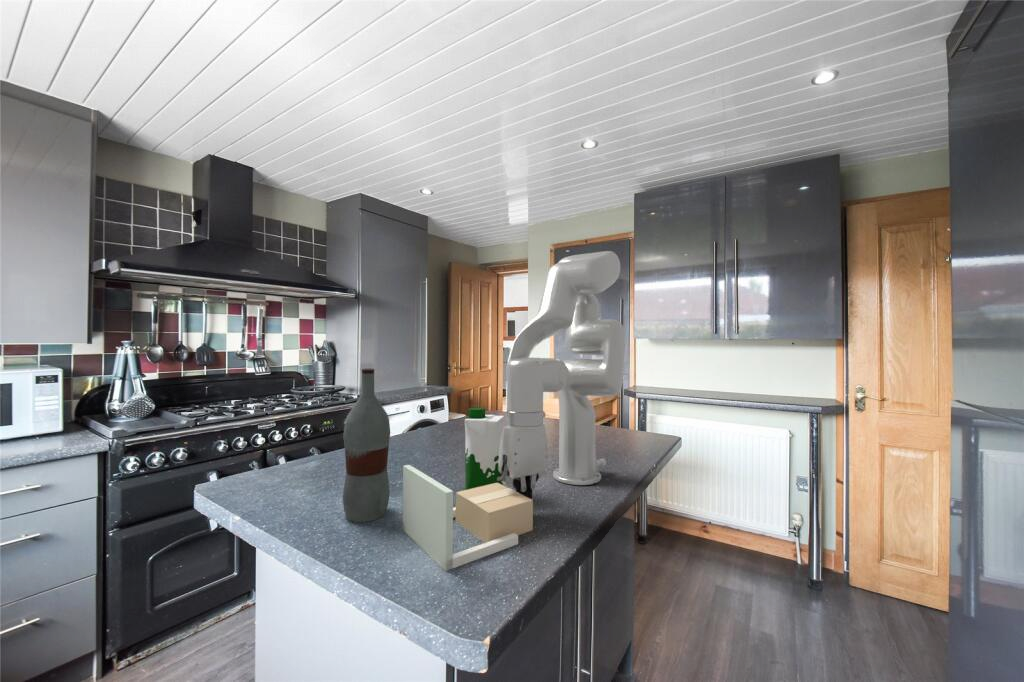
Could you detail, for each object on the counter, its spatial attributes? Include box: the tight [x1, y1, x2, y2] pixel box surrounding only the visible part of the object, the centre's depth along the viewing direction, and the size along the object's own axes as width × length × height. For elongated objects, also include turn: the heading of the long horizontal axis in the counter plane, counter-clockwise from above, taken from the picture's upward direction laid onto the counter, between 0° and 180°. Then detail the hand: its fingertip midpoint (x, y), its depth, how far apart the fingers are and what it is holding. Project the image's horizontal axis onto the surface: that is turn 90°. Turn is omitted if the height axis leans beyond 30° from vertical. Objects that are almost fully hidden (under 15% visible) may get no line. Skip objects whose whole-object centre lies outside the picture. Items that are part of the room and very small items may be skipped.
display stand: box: [402, 464, 519, 572], centre depth 72 cm, size 14×17×12 cm
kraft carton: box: [455, 483, 534, 544], centre depth 77 cm, size 10×12×6 cm
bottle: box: [342, 367, 391, 523], centre depth 82 cm, size 9×9×30 cm
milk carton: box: [464, 406, 505, 490], centre depth 93 cm, size 9×9×20 cm
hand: (524, 508), depth 81 cm, fingers closed
